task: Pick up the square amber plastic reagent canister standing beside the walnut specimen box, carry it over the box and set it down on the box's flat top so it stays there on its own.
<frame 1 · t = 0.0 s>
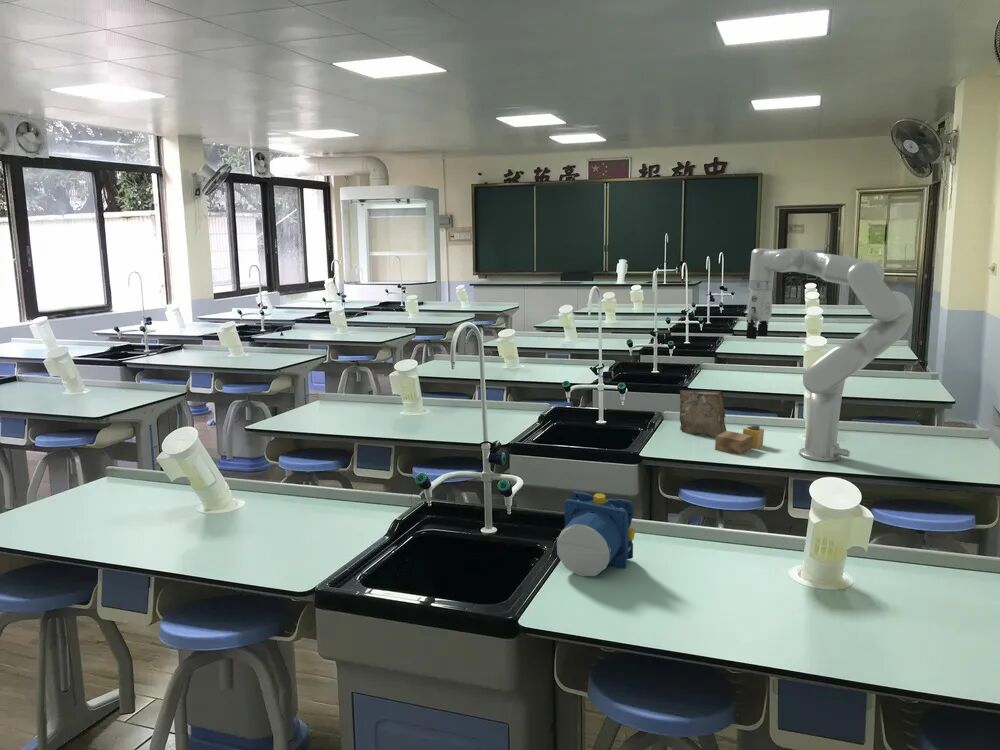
hand: (756, 337, 267), 37 cm above the worktop, fingers open, 9 cm apart
specimen box: (733, 450, 265), on the worktop
canister: (752, 445, 270), on the worktop
mineral sample: (700, 434, 285), on the worktop
valve: (592, 566, 173), on the worktop
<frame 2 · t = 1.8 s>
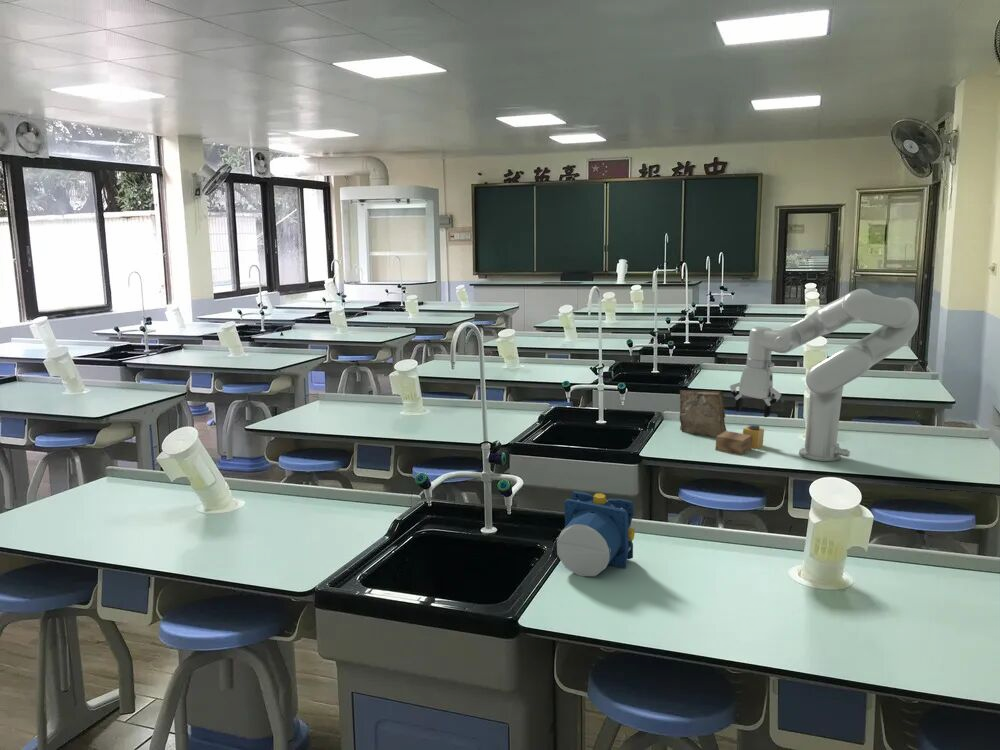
hand: (752, 413, 269), 11 cm above the worktop, fingers open, 9 cm apart
nothing on the worktop moved.
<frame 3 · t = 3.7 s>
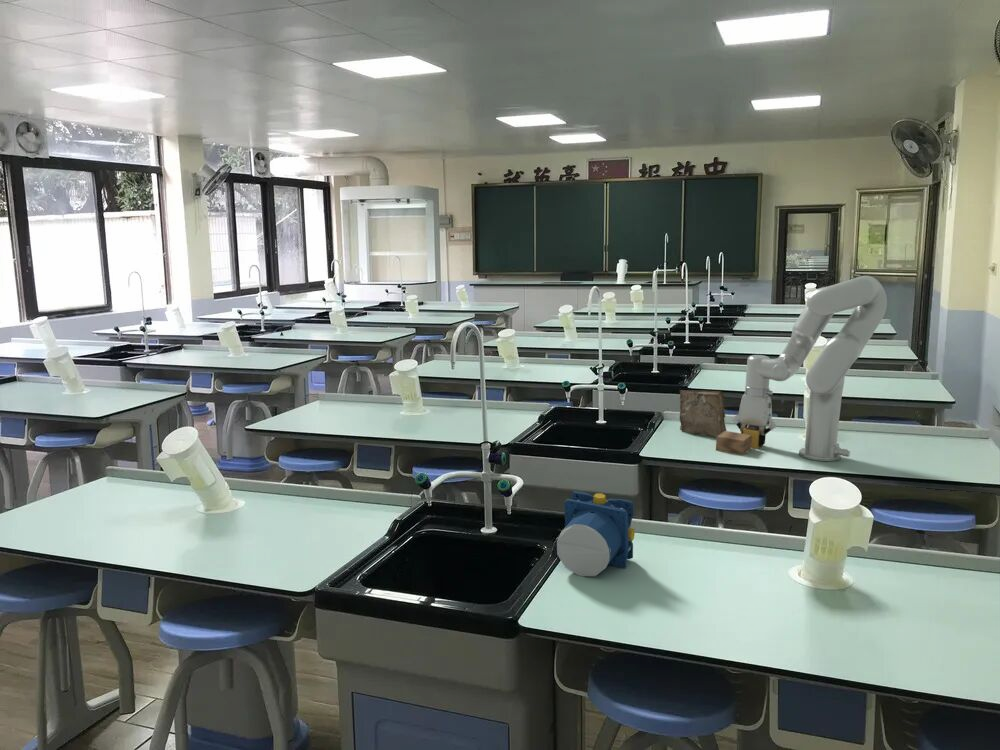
hand: (752, 443, 270), 1 cm above the worktop, fingers closed on canister, 5 cm apart
canister: (752, 445, 270), on the worktop, touching gripper
everything else where it was.
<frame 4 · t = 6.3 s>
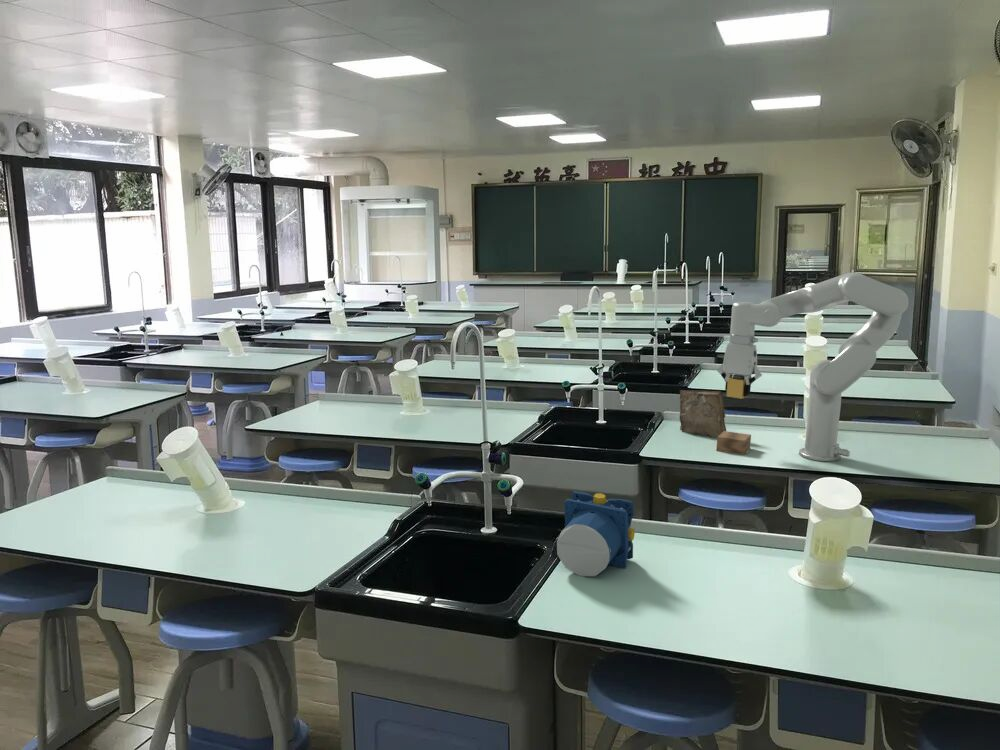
hand: (737, 394, 262), 19 cm above the worktop, fingers closed on canister, 5 cm apart
canister: (737, 396, 262), point 18 cm above the worktop, touching gripper
everything else where it was.
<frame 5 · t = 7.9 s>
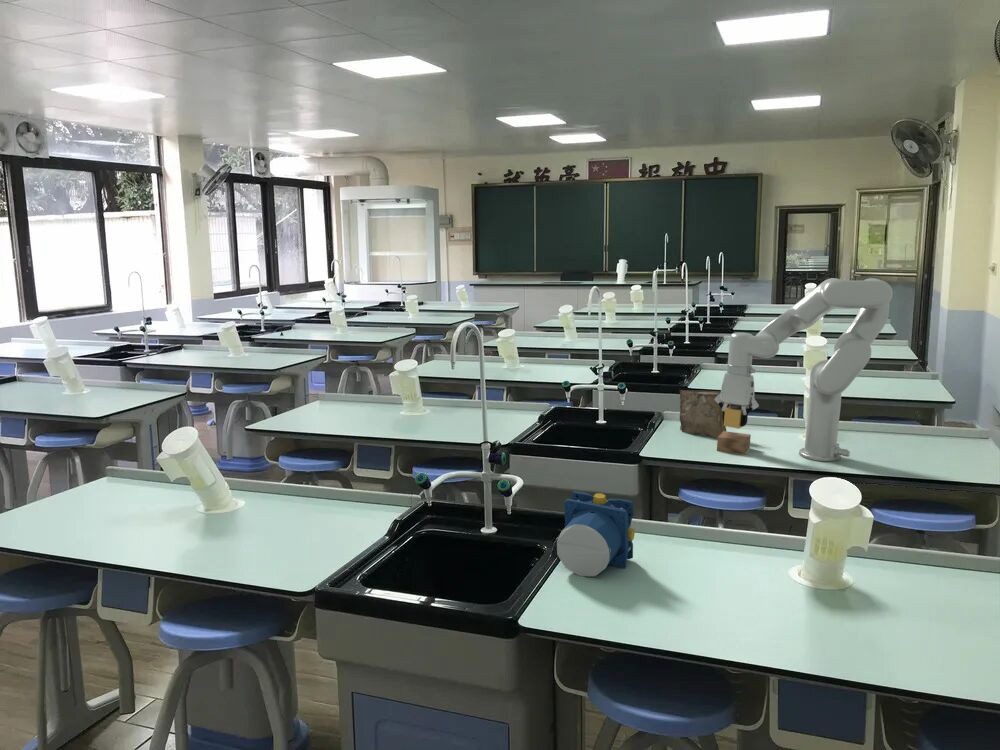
hand: (734, 423, 264), 9 cm above the worktop, fingers closed on canister, 5 cm apart
canister: (734, 425, 264), point 8 cm above the worktop, touching gripper
everything else where it was.
when the fingers open (7 cm above the worktop, at t = 9.2 s): canister drops 1 cm, resting on specimen box.
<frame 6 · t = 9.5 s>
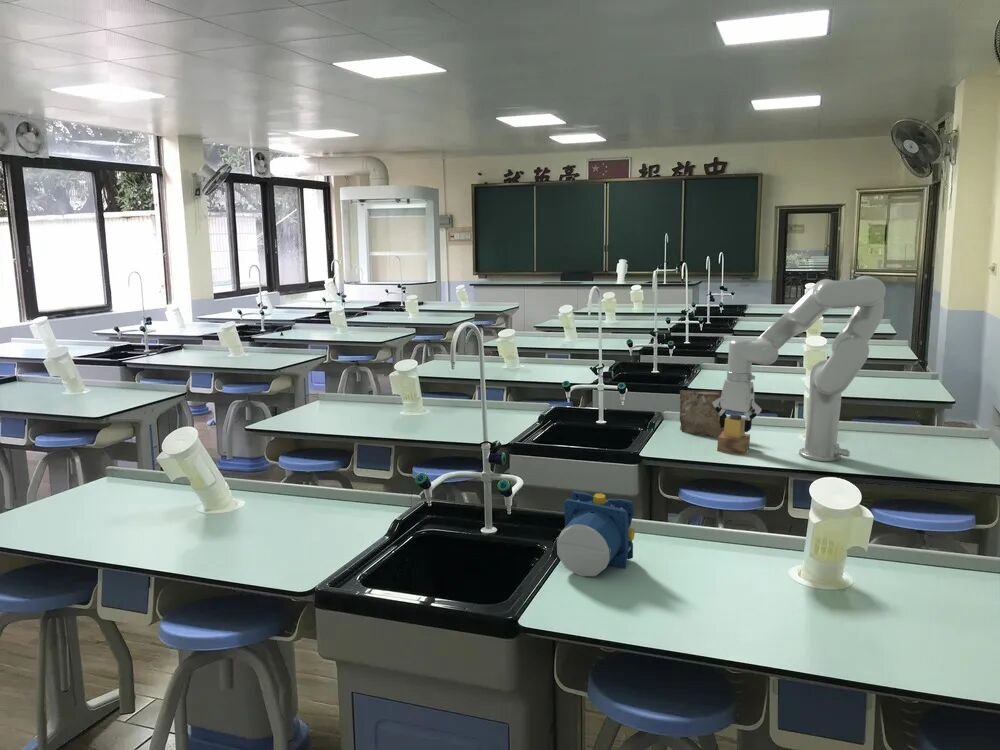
hand: (734, 428, 264), 7 cm above the worktop, fingers open, 7 cm apart
specimen box: (733, 450, 265), on the worktop, touching canister
canister: (734, 435, 264), point 5 cm above the worktop, touching specimen box
everything else where it was.
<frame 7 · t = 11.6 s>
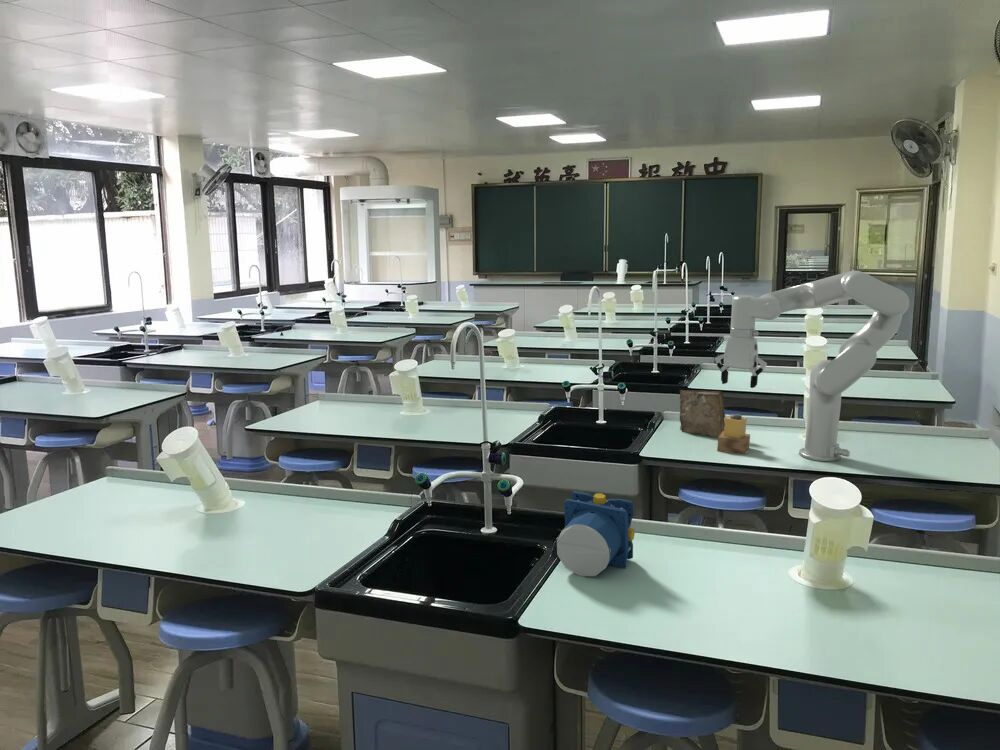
hand: (738, 385, 261), 22 cm above the worktop, fingers open, 9 cm apart
specimen box: (733, 450, 266), on the worktop
canister: (734, 435, 265), point 5 cm above the worktop
everything else where it was.
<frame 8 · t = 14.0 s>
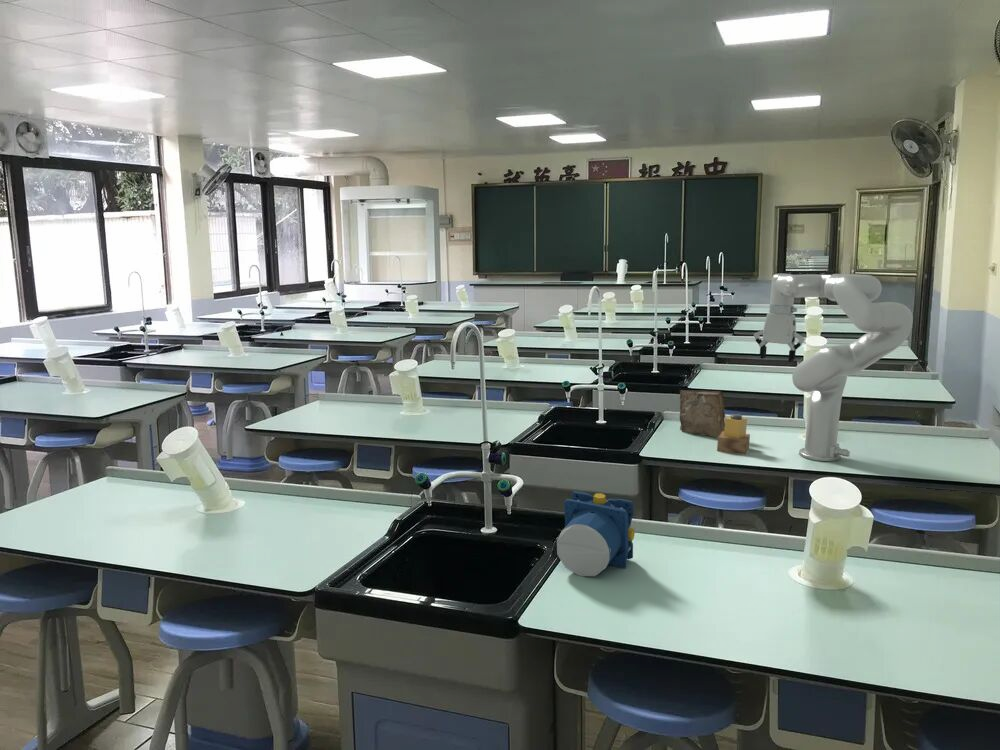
hand: (776, 359, 274), 28 cm above the worktop, fingers open, 9 cm apart
nothing on the worktop moved.
at the end: canister 0.2 cm off-centre on the specimen box, point 5.0 cm above the specimen box's base; canister tilted 0°; the gripper is holding nothing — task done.
